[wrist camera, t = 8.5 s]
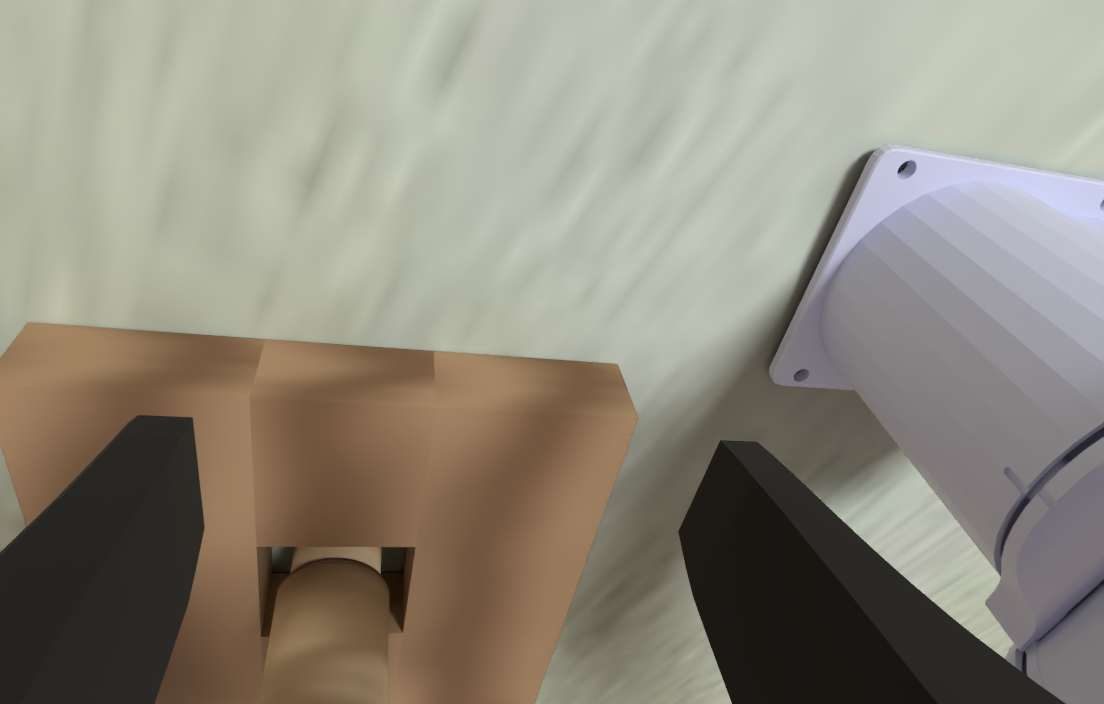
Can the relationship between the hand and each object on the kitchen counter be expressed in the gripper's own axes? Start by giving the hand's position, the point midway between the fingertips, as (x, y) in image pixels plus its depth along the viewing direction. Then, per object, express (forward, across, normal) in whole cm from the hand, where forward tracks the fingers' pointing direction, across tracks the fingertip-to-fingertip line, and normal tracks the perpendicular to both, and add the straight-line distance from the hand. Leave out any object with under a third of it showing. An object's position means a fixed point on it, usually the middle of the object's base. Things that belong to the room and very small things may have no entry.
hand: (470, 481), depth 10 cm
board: (+10, +2, +13) cm, 16 cm away
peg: (+10, +2, +13) cm, 16 cm away
